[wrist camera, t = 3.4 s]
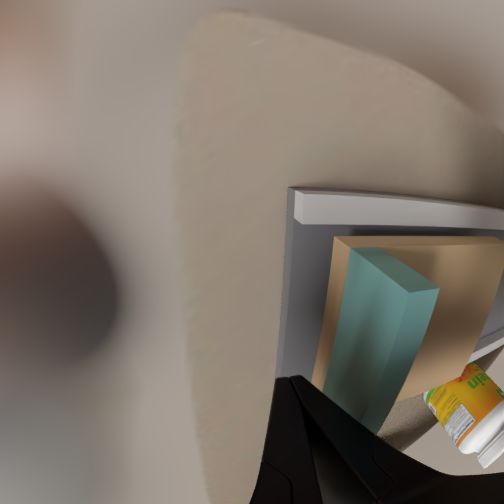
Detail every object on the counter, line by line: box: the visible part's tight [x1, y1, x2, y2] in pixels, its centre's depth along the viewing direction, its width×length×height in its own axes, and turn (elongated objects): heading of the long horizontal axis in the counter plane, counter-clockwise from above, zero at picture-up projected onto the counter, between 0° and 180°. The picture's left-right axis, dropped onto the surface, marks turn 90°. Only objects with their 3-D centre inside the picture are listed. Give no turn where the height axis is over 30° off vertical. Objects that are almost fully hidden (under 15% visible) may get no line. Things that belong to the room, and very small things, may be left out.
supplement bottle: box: [424, 361, 504, 468], centre depth 13 cm, size 5×5×10 cm
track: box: [275, 187, 504, 382], centre depth 13 cm, size 11×22×2 cm, turn 89°
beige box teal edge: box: [311, 236, 504, 436], centre depth 9 cm, size 8×10×5 cm
